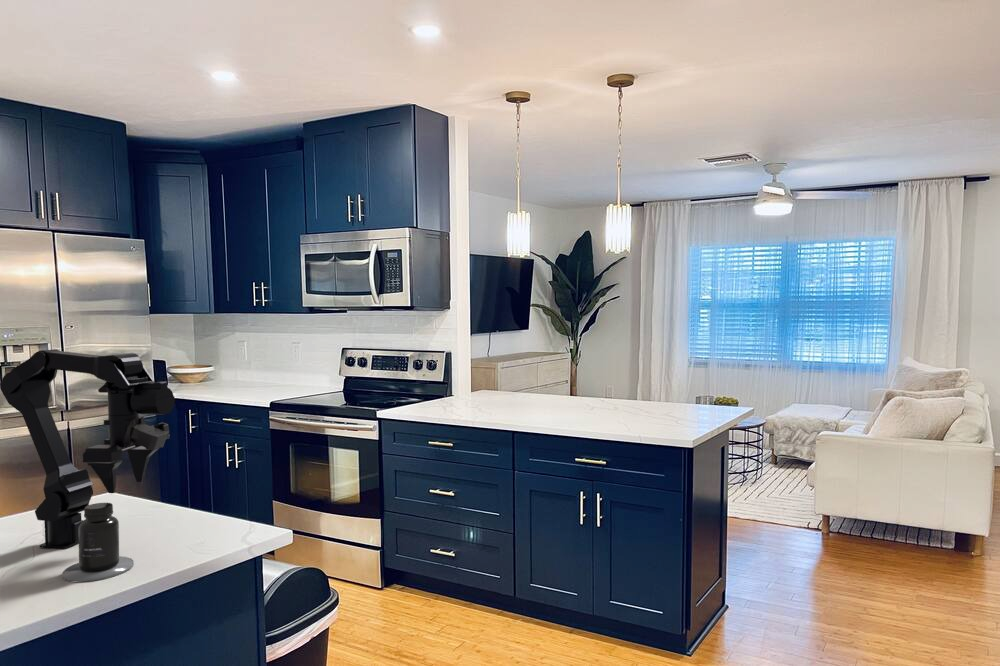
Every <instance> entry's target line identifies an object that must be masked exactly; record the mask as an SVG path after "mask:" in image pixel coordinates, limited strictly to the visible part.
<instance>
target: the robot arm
mask: <svg viewBox="0 0 1000 666" xmlns="http://www.w3.org/2000/svg"><path fill="white" fill-rule="evenodd" d="M58 371H64V372H72V373H81V374H88V375H92V376H94V377H96V379H98V380H102V381H105V382H104V384H103V385H102V386H101V387H99V388H98V389H97V392H98V393H103V394H104V393H105V394H106V393H107V414H108V415H107V417H108V419H103V426H108V438H106V439H104V440H103V441H104V442H103V443H104V444H96V445H92V446H89V447H86V448H85V449H84V450H83V451H81V458H82V459H81V462H82V463H86V465H87V466H90V468H92V470H93V471H94V472H95V474H96V475H97V477H99V480H100V481H101V483H102V484H103V487H105V490H106V491H107V492H108V494H115V493H116V486H117V473H118V472H117V469H118V467H119V466H120V465H121V464H122V463H123V460H122V459H121V458H122V457H123V452H127V455H128V458H129V461H130V465H131V469H132V472H133V476H134V479H135V481H136V482H137V483H142V482H143V480H144V477H145V474H146V470H147V467H148V464H149V461H150V458H151V456H152V455H153V454H155V452H157V451H158V450H160V448H164V445H165V443H166V440H167V439H170V438H171V435H170V427H169V424H168V423H166V422H164V421H163V422H160V423H157V424H156V425H154V424H153V425H148V424H146V419H145V417H144V416H140V415H157V416H158V415H163V416H164V415H168V414H170V413H171V412H172V410H173V408H174V407H175V404H176V403H175V401H176V397H175V395H174V392H173V391H172V390H171V388H170V387H168V382H167V381H157V382H155V380H154V378H153V377H152V376H151V374H150V372H149V371H148V369H147V368H146V367H145V365H144V364H143V361H142V360H141V357H140V356H139V355H138V354H137V353H133V352H131V353H121V354H111V355H110V354H109V355H98V354H91V353H90V354H89V353H81V352H72V351H65V350H63V351H62V350H59V349H43V350H42V349H41V350H38V351H36V352H35V353H33V354H32V355H31V356H30V357H29V358H28V359H27V360H25V361H23V362H21V363H20V364H17V365H16V366H15V367H13V368H12V369H11V370H10V371H9V372H6V373H5V374H4V375H3V377H2V380H1V382H0V392H1V393H2V395H3V396H4V398H5V400H6V402H7V403H8V405H10V406H11V407H12V408H14V409H15V410H16V411H18V412H19V413H20V414H21V416H22V417H23V420H24V423H25V425H26V427H27V430H28V432H29V435H30V437H31V440H32V443H33V445H34V447H35V449H36V452H37V455H38V458H39V459H40V463H41V464H42V465H41V466H42V467H43V469H44V472H45V480H44V483H43V484H44V485H43V493H44V500H43V501H41V503H40V504H39V506H38V507H36V509H35V510H34V514H35V516H36V519H37V521H41V522H42V521H43V522H44V523H43V524H44V543H41V544H39V548H42V549H43V548H45V549H46V548H48V549H49V548H50V549H51V548H52V549H68V548H71V547H72V546H75V545H76V544H79V534H78V529H79V525H80V523H81V522H82V521H84V520H82V512H83V511H84V508H85V507H86V506H88V505H90V501H91V499H92V496H93V495H94V489H93V486H94V483H93V482H92V481H91V478H90V476H89V471H88V470H87V469H86V468H82V469H78V468H77V467H75V466H74V465H73V463H72V461H71V459H70V456H69V454H68V452H67V449H66V447H65V446H66V445H65V444H64V442H63V441H64V440H63V439H62V436H61V433H60V432H59V429H58V427H57V424H56V422H55V419H54V416H53V414H52V412H51V409H50V407H49V401H50V397H51V391H52V390H51V388H50V384H51V383H52V381H54V379H56V377H57V375H58Z"/></svg>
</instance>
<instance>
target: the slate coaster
mask: <svg viewBox="0 0 1000 666" xmlns="http://www.w3.org/2000/svg"><path fill="white" fill-rule="evenodd" d="M134 562H135V561H134V559H133V558H131V557H127V556H120V555H119V563H118V564H117V565H116V566H115V567H113V568H111V569H108V570H105V571H100V572H83V571H81V570H80V568H79V562H76V563H75V564H72V565H70V566H68V567H67V568H65V569H64V570H63V571H62V574H61V575H62V576H61V578H62V577H63V578H62V579H63V580H64V579H65V581H67V580H68V581H67V582H71V581H89V582H95V581H94V580H97V581H102V580H106V578H107V579H109V578H110V577H111V578H114V577H117V576H120V575H122V574H125V573H127V572H128V571H130V570H131V569H132V568H133V567H134V564H135V563H134ZM129 569H130V570H129ZM119 574H120V575H119ZM116 575H117V576H116ZM113 576H114V577H113ZM101 579H102V580H101Z"/></svg>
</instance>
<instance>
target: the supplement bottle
mask: <svg viewBox="0 0 1000 666" xmlns="http://www.w3.org/2000/svg"><path fill="white" fill-rule="evenodd" d="M83 513H84V515H83V517H84V518H85V519H84V520H83V521H82V522H81V523H80V525H79V529H78V534H79V543H78V563H79V568H80V570H81V571H83V572H100V571H105V570H108V569H111V568H113V567H115V566H116V565H117V564H118V563H119V556H120V522H119V520H118V518H117V517H115V516H113V515H114V506H113V503H111V502H97V503H96V502H95V503H91V504H89V505H88V506H86V507H85V508H84V512H83Z"/></svg>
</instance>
